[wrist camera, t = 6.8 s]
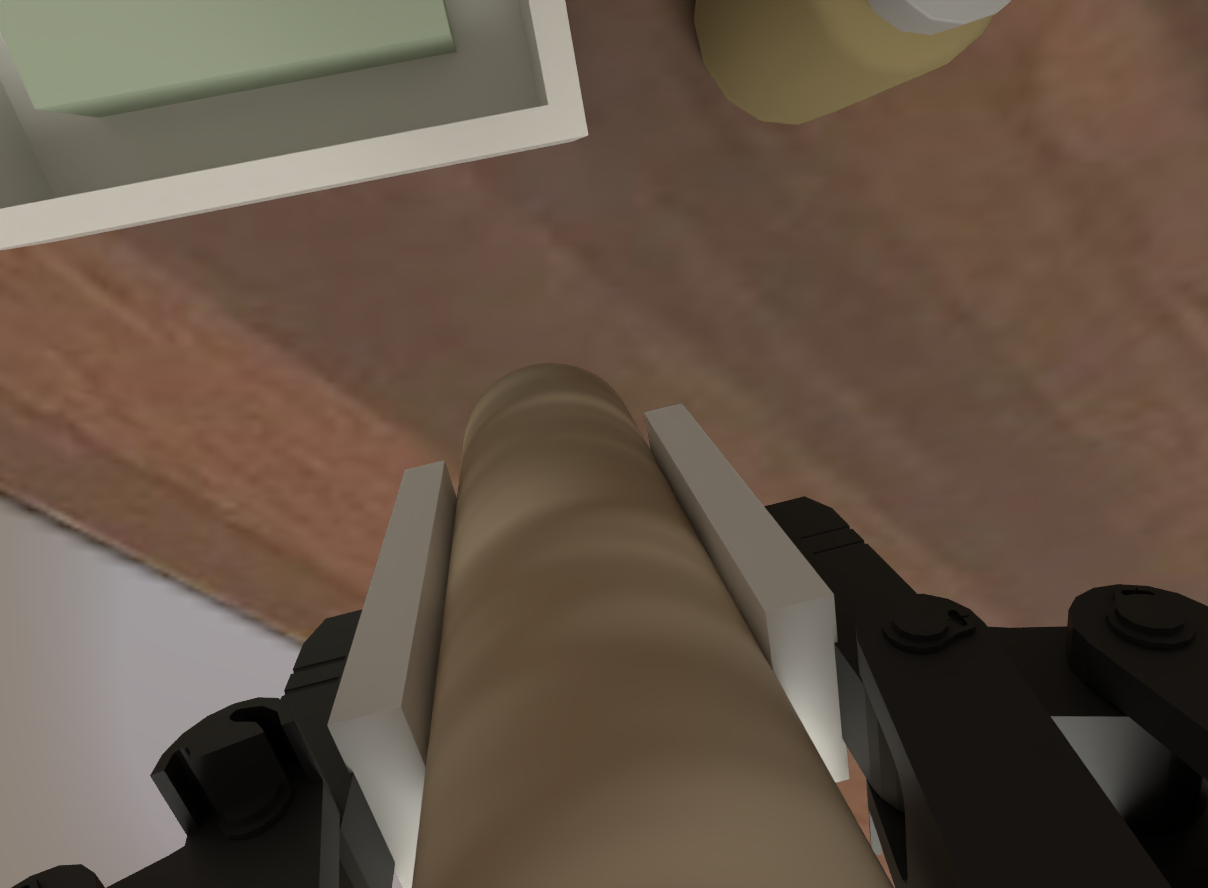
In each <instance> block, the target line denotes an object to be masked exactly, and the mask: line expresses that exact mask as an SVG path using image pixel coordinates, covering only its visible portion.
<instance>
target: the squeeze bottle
mask: <svg viewBox="0 0 1208 888" xmlns="http://www.w3.org/2000/svg"><path fill="white" fill-rule="evenodd" d="M1010 1H1011V0H696V3H695V12H694V24H695V28H696V32H697V37H698V41H699V46H700V50H701V54H702V59H703V63H704V66H705V67H706V69H707V70H708V72H709V73H710V75H711V76H712V78H713V79H714V81H715V82H716V84H717V85H718V87H719V88H720V90H721V91H722V93H723V94H724V96H725V97H726V99H727V100H728V101H730V102H731V103H733V104H734V105H736V106H738V107H739V108H741V109H742V110H744V111H745V112H747V113H749V114H750V115H752V116H753V117H755V118H757V119H758V120H760V121H767V122H776V123H786V124H795V125H798V124H801V123H804V122H807V121H810V120H813V119H816V118H819V117H821V116H824V115H827V114H830V113H833V112H836V111H838V110H840V109H843V108H845V107H847V106H850V105H852V104H854V103H857V102H859V101H861V100H864V99H866V98H868V97H871V96H873V95H875V94H878V93H880V92H882V91H885V90H887V89H890V88H892V87H894V86H897V85H899V84H901V83H904V82H906V81H908V80H911V79H913V78H915V77H918V76H920V75H922V74H925V73H927V72H929V71H932V70H934V69H936V68H939V67H941V66H944V65H946V64H948V63H949V62H950V61H951V60H952V59H953V58H955V57H956V56H957V55H958V54H959V53H960V52H961V51H963V50H964V49H965V48H966V47H967V46H968V45H970V44H971V43H972V42H973V41H974V40H975V39H976V38H978V37H979V36H980V35H981V34H982V33H983V32H984V30H985V29H986V27H987V25H988V24H989V22H990V20H991V19H992V17H993V15H994V14H996V13H998V12H999V11H1000V10H1001V9H1002V8H1003V7H1004V6H1006V5H1007V4H1008V3H1009V2H1010Z"/></svg>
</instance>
